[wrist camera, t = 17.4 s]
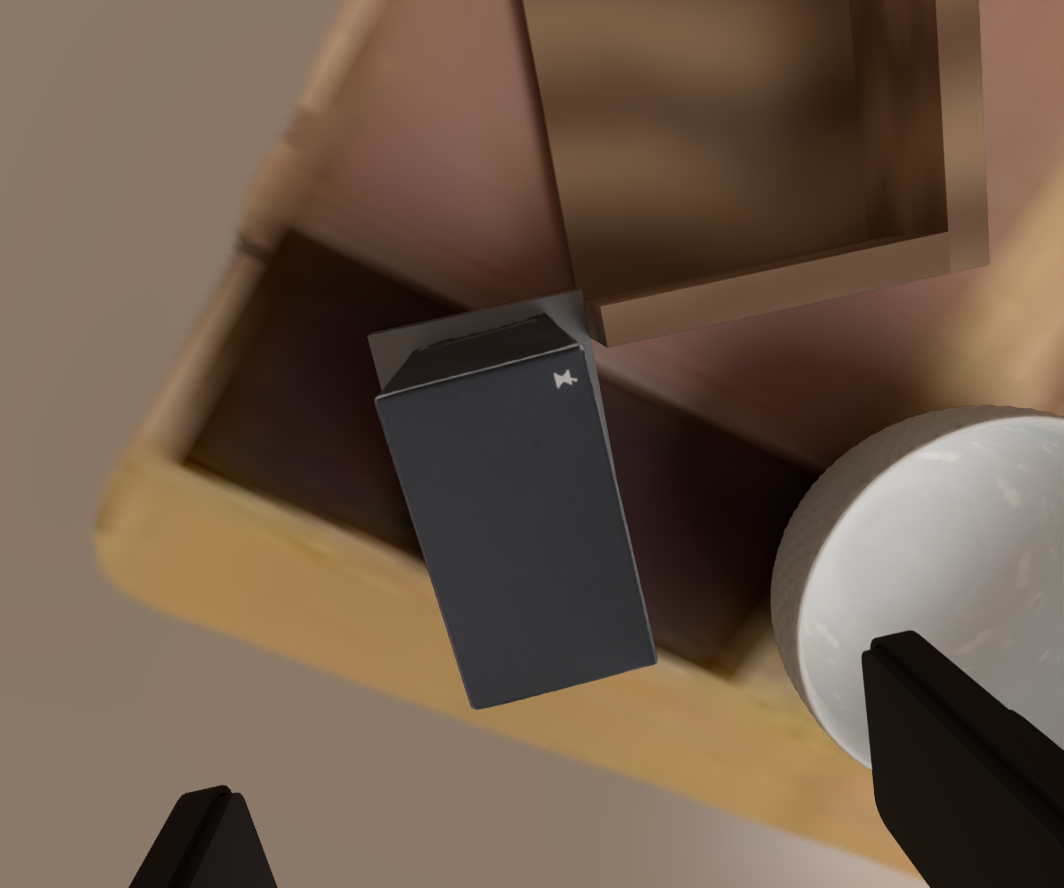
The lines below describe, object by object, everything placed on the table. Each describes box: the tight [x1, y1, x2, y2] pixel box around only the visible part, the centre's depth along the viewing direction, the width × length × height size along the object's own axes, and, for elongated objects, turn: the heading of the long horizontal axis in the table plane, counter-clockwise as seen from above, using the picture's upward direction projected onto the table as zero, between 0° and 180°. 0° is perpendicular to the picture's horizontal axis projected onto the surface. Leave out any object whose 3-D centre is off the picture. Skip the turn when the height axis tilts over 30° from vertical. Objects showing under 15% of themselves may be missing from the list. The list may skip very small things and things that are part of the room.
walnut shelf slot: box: [521, 0, 990, 348], centre depth 27 cm, size 16×14×6 cm
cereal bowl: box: [770, 405, 1064, 770], centre depth 32 cm, size 17×17×7 cm
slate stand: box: [367, 289, 617, 598], centre depth 32 cm, size 12×9×2 cm
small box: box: [374, 313, 657, 710], centre depth 26 cm, size 11×6×10 cm, turn 14°
